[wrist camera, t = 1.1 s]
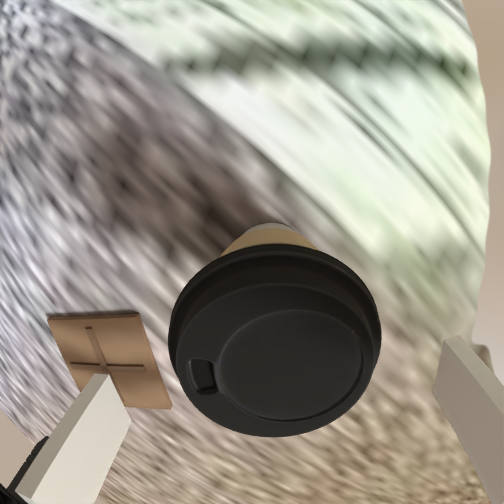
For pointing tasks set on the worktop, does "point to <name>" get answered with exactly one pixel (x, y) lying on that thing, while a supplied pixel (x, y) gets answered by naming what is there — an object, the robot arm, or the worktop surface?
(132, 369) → the plate
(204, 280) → the coffee cup
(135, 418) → the worktop surface
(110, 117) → the worktop surface
